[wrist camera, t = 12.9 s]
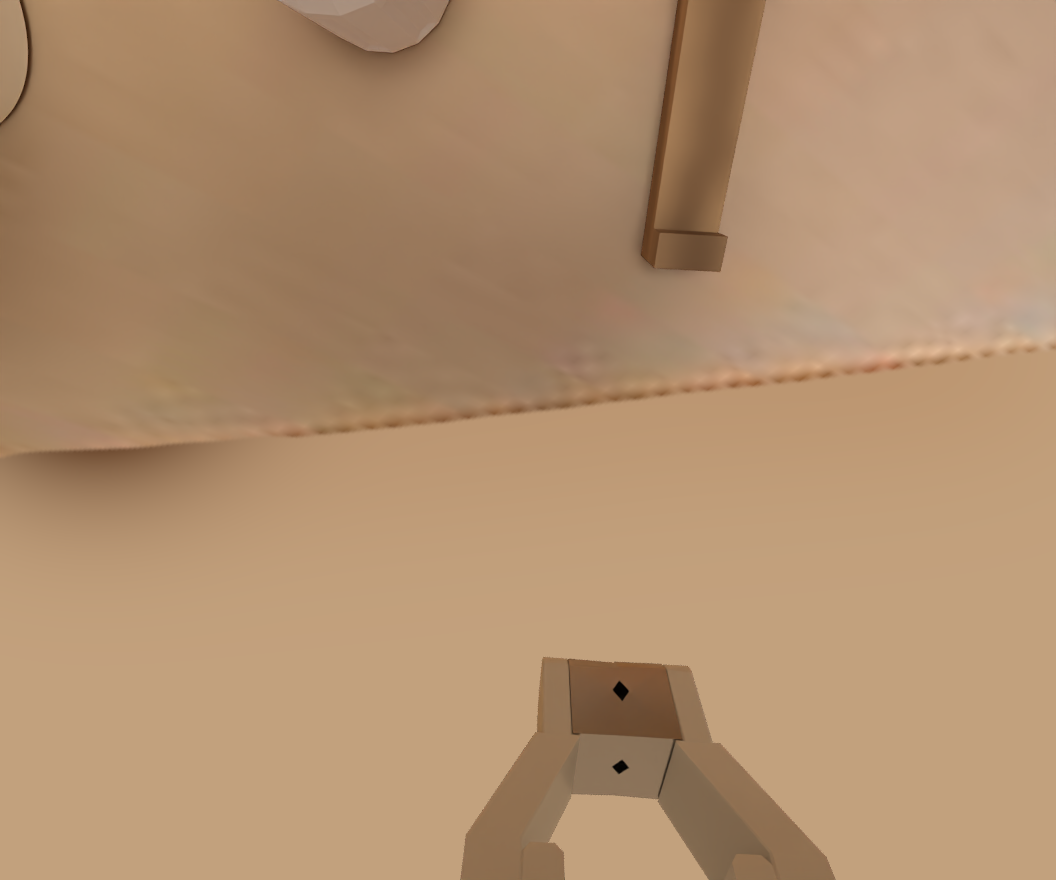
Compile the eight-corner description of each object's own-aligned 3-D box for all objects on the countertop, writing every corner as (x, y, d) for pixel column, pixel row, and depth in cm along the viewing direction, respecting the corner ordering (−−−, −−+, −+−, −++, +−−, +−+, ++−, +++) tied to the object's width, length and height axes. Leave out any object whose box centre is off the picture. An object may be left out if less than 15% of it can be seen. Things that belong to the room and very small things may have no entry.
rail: (641, 254, 37) (654, 267, 32) (711, -234, 26) (746, -314, 22) (699, 258, 37) (720, 271, 32) (793, -229, 26) (844, -308, 22)
